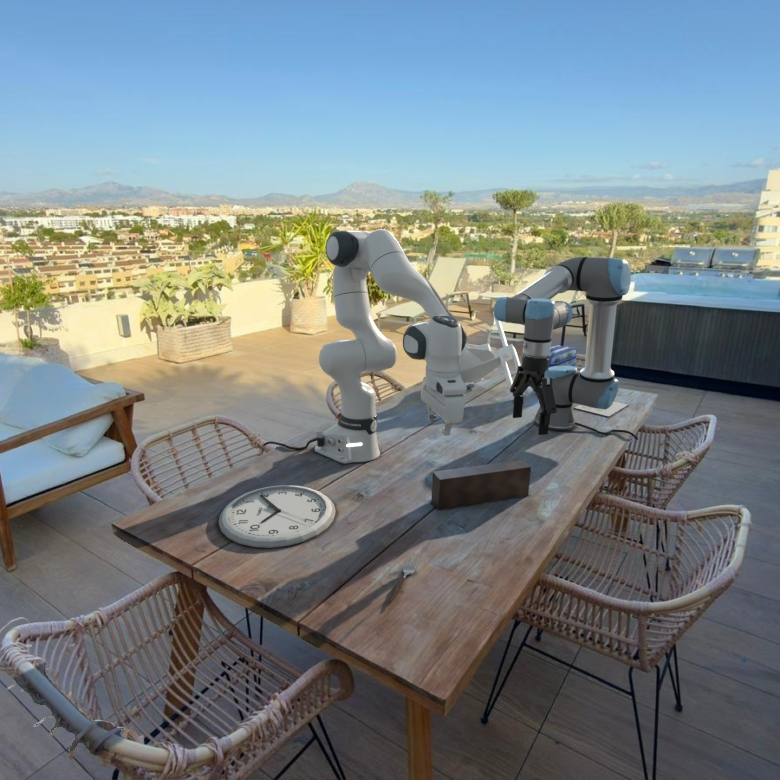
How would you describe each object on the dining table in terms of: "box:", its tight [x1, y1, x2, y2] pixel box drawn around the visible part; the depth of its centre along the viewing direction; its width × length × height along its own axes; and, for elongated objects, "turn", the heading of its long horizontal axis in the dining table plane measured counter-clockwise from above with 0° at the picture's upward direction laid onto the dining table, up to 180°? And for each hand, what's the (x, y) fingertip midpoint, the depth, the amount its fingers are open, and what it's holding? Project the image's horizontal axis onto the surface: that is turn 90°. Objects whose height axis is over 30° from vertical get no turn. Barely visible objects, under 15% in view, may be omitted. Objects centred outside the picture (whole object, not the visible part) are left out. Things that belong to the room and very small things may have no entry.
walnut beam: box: [430, 459, 532, 511], centre depth 147 cm, size 28×5×9 cm, turn 108°
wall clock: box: [218, 484, 336, 549], centre depth 137 cm, size 30×2×30 cm
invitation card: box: [573, 401, 629, 418], centre depth 226 cm, size 21×1×15 cm
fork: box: [388, 554, 419, 606], centre depth 112 cm, size 3×16×2 cm, turn 160°
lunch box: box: [531, 345, 577, 392], centre depth 245 cm, size 26×11×21 cm, turn 134°
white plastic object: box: [459, 311, 531, 397], centre depth 245 cm, size 37×45×31 cm
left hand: (438, 427), depth 141 cm, fingers open, 8 cm apart
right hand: (529, 425), depth 153 cm, fingers open, 13 cm apart
